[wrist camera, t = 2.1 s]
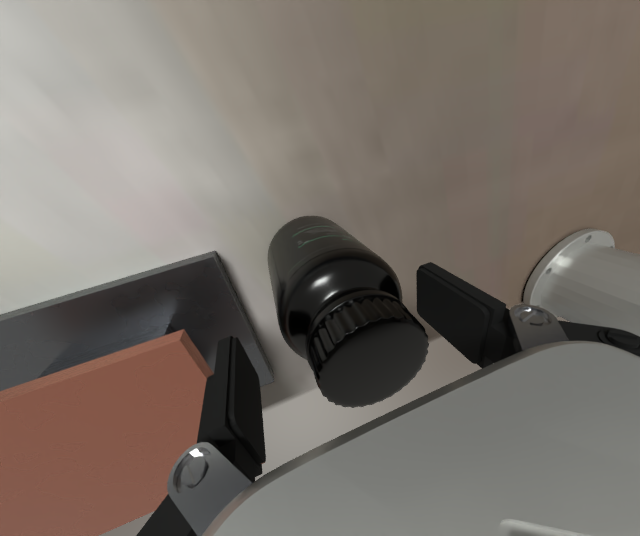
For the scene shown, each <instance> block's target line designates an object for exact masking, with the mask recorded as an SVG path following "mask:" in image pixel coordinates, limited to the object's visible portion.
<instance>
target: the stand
mask: <svg viewBox="0 0 640 536" xmlns="http://www.w3.org/2000/svg"><path fill="white" fill-rule="evenodd" d="M229 336H233V338H236V337H238V339H239V341H240V342H241V344H242V346H243V348H244V350H245V352H246V354H247V355H248V357H249V359H250V361H251V363H252V365H253V367H254V368H255V370H256V372H257V374H258V377H259V381H260V387H261V386H264V385H267V384H269V383H272V382H274V376H273V371H272V369H271V366H270V364H269V362H268V360H267V358H266V356H265V354H264V352H263V350H262V348H261V346H260V343H259V341H258V339H257V337H256V335H255V333H254V331H253V329H252V327H251V325H250V322H249V320H248V318H247V316H246V314H245V312H244V310H243V308H242V306H241V304H240V301H239V299H238V297H237V295H236V293H235V291H234V289H233V287H232V285H231V283H230V281H229V278H228V276H227V274H226V272H225V270H224V268H223V266H222V264H221V262H220V260H219V257H218V255H217V253H216V251H212V252H209V253H206V254H202V255H199V256H196V257H192V258H189V259H186V260H182V261H179V262H176V263H172V264H169V265H166V266H162V267H159V268H155V269H152V270H149V271H145V272H142V273H139V274H135V275H132V276H129V277H125V278H122V279H119V280H115V281H112V282H109V283H105V284H102V285H99V286H95V287H92V288H89V289H85V290H82V291H79V292H75V293H72V294H68V295H65V296H62V297H58V298H55V299H52V300H48V301H45V302H42V303H38V304H35V305H32V306H28V307H25V308H22V309H18V310H15V311H12V312H8V313H5V314H2V315H0V536H98V535H101V534H103V533H105V532H107V531H110V530H112V529H114V528H117V527H119V526H121V525H123V524H126V523H128V522H130V521H133V520H135V519H137V518H139V517H142V516H144V515H146V514H148V513H151V512H153V511H155V510H156V509H157V508H158V507H159V505H160V504H161V503H162V501H163V500H164V499H165V497H166V496H167V495H168V491H167V481H168V478H169V475H170V472H171V470H172V468H173V466H174V464H175V463H176V461H177V460H178V459H179V457H180V456H181V455H182V454H183V453H184V452H185V451H186V450H187V449H188V448H190V447H191V446H193V445H195V444H197V437H198V431H199V424H200V418H201V412H202V405H203V399H204V392H205V386H206V381H207V378H208V376H211V375H213V374H214V370H215V362H216V354H217V346H218V341H219V340H221V339H224V338H226V337H229ZM264 463H265V462H264ZM262 464H263V463H262Z"/></svg>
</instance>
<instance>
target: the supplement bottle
mask: <svg viewBox="0 0 640 536" xmlns="http://www.w3.org/2000/svg"><path fill="white" fill-rule="evenodd" d="M268 266H269V273H270V279H271V284H272V290H273V295H274V301H275V307H276V312H277V318H278V323H279V327H280V330H281V333H282V336H283V338H284V340H285V341H286V343H287V344H288V345H289V347H290V348H291V349H292V350H293V351H294V352H295V353H297V354H298V355H300V356H301V357H303V358H304V359H306V360H308V363H309V365H310V367H311V369H312V370H313V372H314V375H315V379H316V382H317V385H318V387H319V389H320V390H321V392H322V394H323V396H325V397H327V399H328V401H330V402H334V403H335V405H342V406H343V407H352V408H354V407H358V406H359V407H363V406H366V405H372V404H374V403H376V402H380V401H383V400H384V399H386V398H388V397H391V396H392V395H393V394H394V393H396V392H398V391H400V390H401V389H402V388H403V387H404V386H406V385H407V384H408V383H409V382H410V380H412V379H413V378H414V377H415V376H416V374H417V372H418V371H419V370H420V369H421V367H422V364H423V363H424V362H425V357H426V355H427V353H428V350H427V348H428V346H429V343H428V342H427V340H428V336H427V334H426V333H425V329H424V327H423V326H422V325H421V324H420V323H419V321H418V320H417V319H416V318H415V317H414V316H413V315H412V314H411V313H410V312H409V311H408V310H407V308H406V307H405V306H404V305H403V304H402V291H401V286H400V283H399V280H398V278H397V276H396V274H395V272H394V271H393V269H392V268H391V267H390V266H389V265H388V264H387V263H386V262H385V261H384V260H383V259H381V258H380V257H379V256H378V255H376V254H375V253H374V252H373V251H371V250H370V249H369V248H367V247H366V246H365V245H363V244H362V243H361V242H359V241H358V240H357V239H356V238H354V237H353V236H352V235H350V234H349V233H348V232H346V231H345V230H344V229H342V228H341V227H340V226H338V225H337V224H336V223H334V222H332V221H331V220H329V219H326V218H323V217H319V216H304V217H300V218H297V219H294V220H292V221H290V222H288V223H287V224H285V225H284V226H283V227H282V228H281V229H280V230H279V231H278V232H277V233H276V234H275V236H274V238H273V239H272V241H271V244H270V247H269V251H268Z"/></svg>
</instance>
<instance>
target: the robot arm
mask: <svg viewBox="0 0 640 536" xmlns="http://www.w3.org/2000/svg"><path fill="white" fill-rule="evenodd" d="M523 303H524V304H520V305H516V306H513V307H512V308H511V309H510V310H509V309H507V308H506V304H505V303H503V302H501V301H499V300H498V299H496V298H494V297H492V296H490V295H489V294H487V293H485V292H483V291H482V290H480V289H478V288H476V287H474V286H473V285H471V284H469V283H467V282H466V281H464V280H462V279H460V278H458V277H457V276H455V275H453V274H451V273H450V272H448V271H446V270H444V269H442V268H441V267H439V266H437V265H435V264H434V263H431V262H430V263H427V264H424V265H421V266H420V267H419V269H418V270H417V312H418V314H419V315H420V316H421V317H422V318H423V319H424V320H425V321H426V322H427V323H428V324H429V325H431V326H432V327H433V328H434V329H435V330H436V331H437V332H438V333H439V334H441V335H442V336H443V337H444V338H445V339H446V340H447V341H448V342H450V343H451V344H452V345H453V346H454V347H455V348H456V349H457V350H458V351H460V352H461V353H462V354H463V355H464V356H465V357H466V358H467V359H468V360H470V361H471V362H472V363H475V364H478V365H479V366H480V367H481V368H482V369H480V370H478V371H476V372H474V373H472V374H470V375H467V376H465V377H463V378H461V379H459V380H457V381H455V382H453V383H450V384H448V385H446V386H444V387H442V388H440V389H438V390H436V391H433V392H431V393H429V394H427V395H425V396H423V397H421V398H418V399H416V400H414V401H412V402H410V403H408V404H406V405H404V406H402V407H400V408H397V409H395V410H393V411H391V412H389V413H387V414H385V415H383V416H381V417H378V418H376V419H374V420H372V421H370V422H368V423H366V424H364V425H362V426H360V427H358V428H356V429H354V430H351V431H349V432H347V433H345V434H343V435H341V436H339V437H337V438H335V439H333V440H331V441H329V442H327V443H324V444H323V445H321V446H319V447H316V448H314V449H312V450H310V451H308V452H307V453H305V454H303V455H301V456H299V457H297V458H295V459H293V460H291V461H289V462H287V463H285V464H283V465H282V466H280V467H278V468H276V469H274V470H272V471H271V472H269V473H267V474H265V475H264V476H263V477H261V478H259V479H258V480H257V481H255V477H256V476H258V475H261V474H262V463H264V462H265V461H266V455H265V443H264V432H263V431H264V430H263V418H262V405H261V393H260V381H259V377H258V374H257V372H256V370H255V368H254V367H253V365H252V363H251V361H250V359H249V357H248V355H247V354H246V352H245V350H244V348H243V346H242V344H241V342H240V341H239V339H238V337H236V338H233V336H229V337H226V338H224V339H221V340H219V341H218V346H217V354H216V362H215V370H214V374H213V375H211V376H208V378H207V381H206V386H205V392H204V399H203V405H202V412H201V418H200V424H199V431H198V437H197V444H195V445H193V446H191V447H190V448H188V449H187V450H186V451H185V452H184V453H183V454H182V455H181V456H180V457H179V459H178V460H177V461H176V463H175V464H174V466H173V468H172V470H171V472H170V475H169V478H168V481H167V491H168V495H167V496H166V497H165V499H164V500H163V501H162V503H161V504H160V505H159V507H158V508H157V509H156V511H155V512H154V513H153V514H152V516H151V517H150V519H149V520H148V521H147V522H146V524H145V525H144V526H143V528H142V529H141V530H140V532H139V533H138V534H137V536H640V255H639V254H635V253H631V252H627V251H623V250H619V249H615V246H614V240H613V238H612V236H611V235H610V234H609V233H608V232H606V231H602V230H598V229H584V230H581V231H578V232H576V233H573V234H572V235H570V236H568V237H566V238H565V239H563V240H562V241H561V242H559V243H558V244H557V245H555V246H554V247H553V248H552V249H551V250H550V251H549V252H548V253H547V254H546V255H545V256H544V257H543V259H542V260H541V261H540V262H539V264H538V265H537V266H536V268H535V269H534V271H533V273H532V274H531V276H530V278H529V280H528V282H527V285H526V287H525V291H524V296H523ZM559 316H560V317H562V318H564V319H566V320H568V321H570V322H565V321H558V320H557V318H556V317H559Z"/></svg>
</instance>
